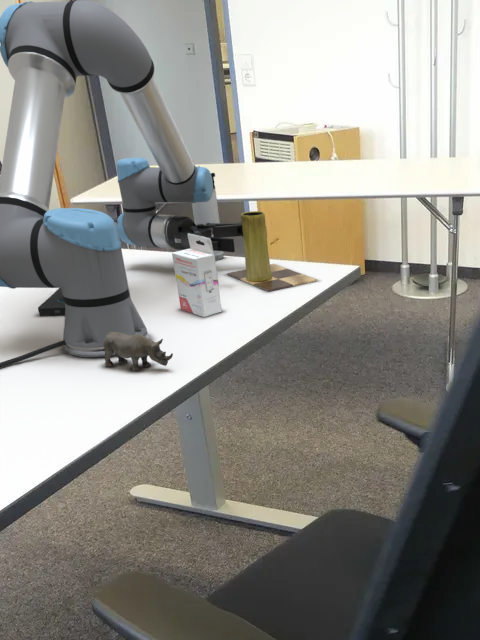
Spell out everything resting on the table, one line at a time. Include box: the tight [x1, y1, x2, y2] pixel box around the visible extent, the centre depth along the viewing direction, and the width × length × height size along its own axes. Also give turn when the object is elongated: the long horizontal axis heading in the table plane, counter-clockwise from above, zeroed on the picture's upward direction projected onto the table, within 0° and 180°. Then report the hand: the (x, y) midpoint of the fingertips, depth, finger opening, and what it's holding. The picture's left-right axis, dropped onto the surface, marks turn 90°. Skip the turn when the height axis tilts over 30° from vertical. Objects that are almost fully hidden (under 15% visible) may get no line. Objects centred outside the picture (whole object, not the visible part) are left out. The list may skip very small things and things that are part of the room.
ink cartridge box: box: [171, 233, 223, 318], centre depth 155 cm, size 9×5×15 cm, turn 47°
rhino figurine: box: [103, 332, 174, 371], centre depth 131 cm, size 4×14×6 cm, turn 69°
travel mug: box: [191, 172, 224, 261], centre depth 192 cm, size 6×7×20 cm
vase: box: [240, 210, 272, 282], centre depth 174 cm, size 6×6×14 cm
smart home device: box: [37, 288, 66, 317], centre depth 167 cm, size 8×2×20 cm
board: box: [227, 263, 318, 293], centre depth 179 cm, size 13×20×1 cm, turn 36°
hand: (250, 239), depth 173 cm, fingers open, 13 cm apart
